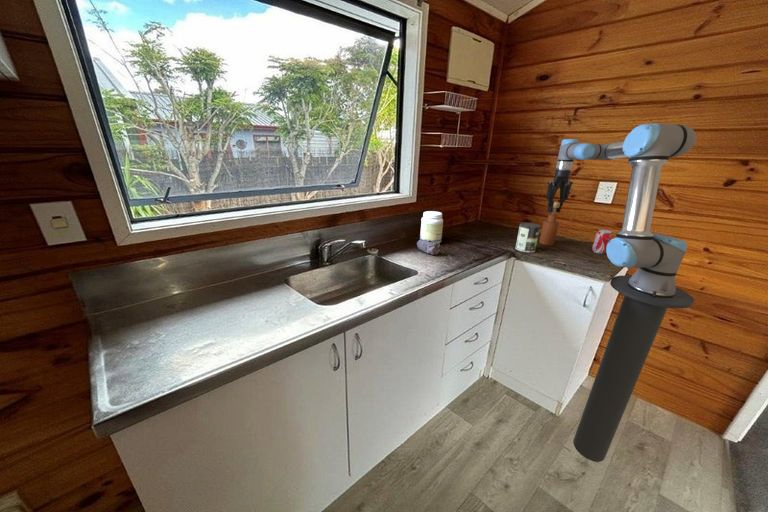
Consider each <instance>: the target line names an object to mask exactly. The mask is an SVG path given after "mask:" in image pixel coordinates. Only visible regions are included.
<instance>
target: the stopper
mask: <svg viewBox="0 0 768 512" xmlns="http://www.w3.org/2000/svg"><path fill="white" fill-rule="evenodd" d="M553 201H554V204H553V208H552V212H551V213H550V214H553V215H556V213H557V212H556V209H557V208H559V206H560V202H558V200H556V201H555V200H553Z"/></svg>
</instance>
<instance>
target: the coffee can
mask: <svg viewBox="0 0 768 512" xmlns="http://www.w3.org/2000/svg"><path fill="white" fill-rule="evenodd" d="M541 229H542V226H541V224H538V223H534V222H527V221H526V222H525V221H524V222H520V223H519V227H518V232H517V238H516V243H515V247H514V248H515V250H516V251H518V252H522V253H529V254H530V253H535V252H536V248H537V244H538V240H539V237H540V236H539V235H540V231H541Z"/></svg>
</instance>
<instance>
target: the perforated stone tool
mask: <svg viewBox="0 0 768 512" xmlns="http://www.w3.org/2000/svg"><path fill="white" fill-rule="evenodd" d="M416 246H417V248H418V249H419V250H420V252H421V251H422V252H423V253H425V254H428V255H429V254H430V255H431V256H435V255H438V254H440V253H441V244H440V243H437V242H434V241H431V240H426V239H421V240H420V239H418V240H417V242H416Z"/></svg>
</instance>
